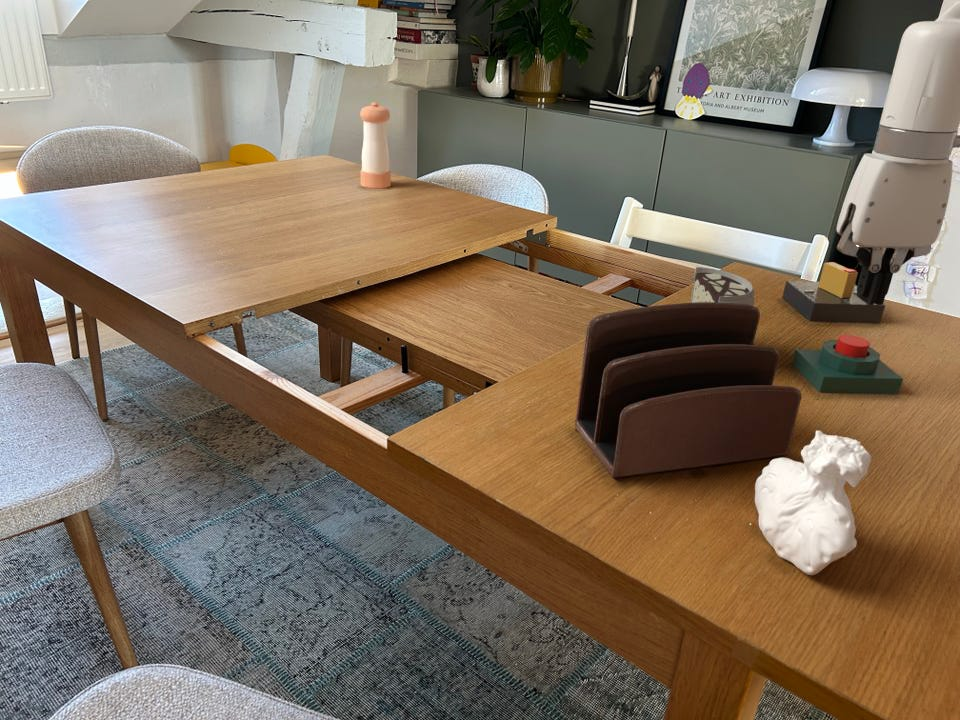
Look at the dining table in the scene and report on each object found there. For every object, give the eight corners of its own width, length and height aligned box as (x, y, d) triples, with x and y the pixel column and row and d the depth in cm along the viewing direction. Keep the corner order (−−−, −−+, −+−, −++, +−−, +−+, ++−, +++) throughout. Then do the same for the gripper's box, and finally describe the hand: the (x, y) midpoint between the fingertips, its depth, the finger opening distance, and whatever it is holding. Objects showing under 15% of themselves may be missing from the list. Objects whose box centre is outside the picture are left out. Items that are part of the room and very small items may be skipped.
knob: (817, 286, 116) (824, 261, 114) (827, 286, 116) (834, 260, 115) (841, 298, 111) (849, 271, 110) (851, 297, 112) (858, 271, 110)
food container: (754, 374, 93) (771, 300, 89) (705, 372, 93) (721, 298, 89) (725, 335, 104) (740, 267, 100) (682, 333, 104) (695, 265, 100)
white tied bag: (830, 612, 59) (945, 520, 56) (772, 569, 56) (890, 471, 53) (763, 518, 70) (857, 437, 67) (712, 478, 67) (807, 392, 64)
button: (856, 347, 93) (860, 334, 92) (871, 359, 90) (875, 346, 89) (829, 346, 93) (833, 334, 92) (843, 359, 90) (847, 346, 89)
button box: (864, 365, 97) (872, 338, 95) (898, 394, 90) (908, 365, 88) (791, 364, 96) (798, 336, 95) (819, 392, 89) (827, 363, 87)
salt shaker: (393, 188, 177) (393, 104, 168) (362, 188, 175) (361, 104, 166) (388, 181, 183) (387, 100, 175) (358, 181, 181) (357, 100, 173)
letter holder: (572, 428, 79) (587, 305, 73) (733, 410, 84) (759, 295, 78) (612, 481, 70) (632, 347, 64) (788, 458, 75) (822, 332, 69)
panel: (847, 299, 120) (852, 281, 119) (879, 323, 111) (885, 304, 110) (781, 298, 119) (786, 279, 118) (809, 321, 110) (814, 302, 109)
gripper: (956, 140, 84) (911, 290, 92) (830, 137, 84) (795, 289, 92) (1001, 152, 78) (947, 313, 86) (864, 149, 77) (823, 312, 85)
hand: (869, 300), depth 89 cm, fingers closed
